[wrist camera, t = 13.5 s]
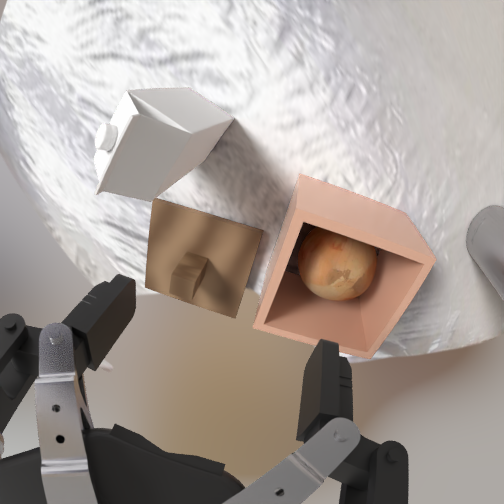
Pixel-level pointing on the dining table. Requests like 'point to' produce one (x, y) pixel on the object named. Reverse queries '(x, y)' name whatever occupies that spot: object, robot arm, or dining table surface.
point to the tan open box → (359, 308)
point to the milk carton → (156, 140)
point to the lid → (199, 257)
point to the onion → (336, 264)
